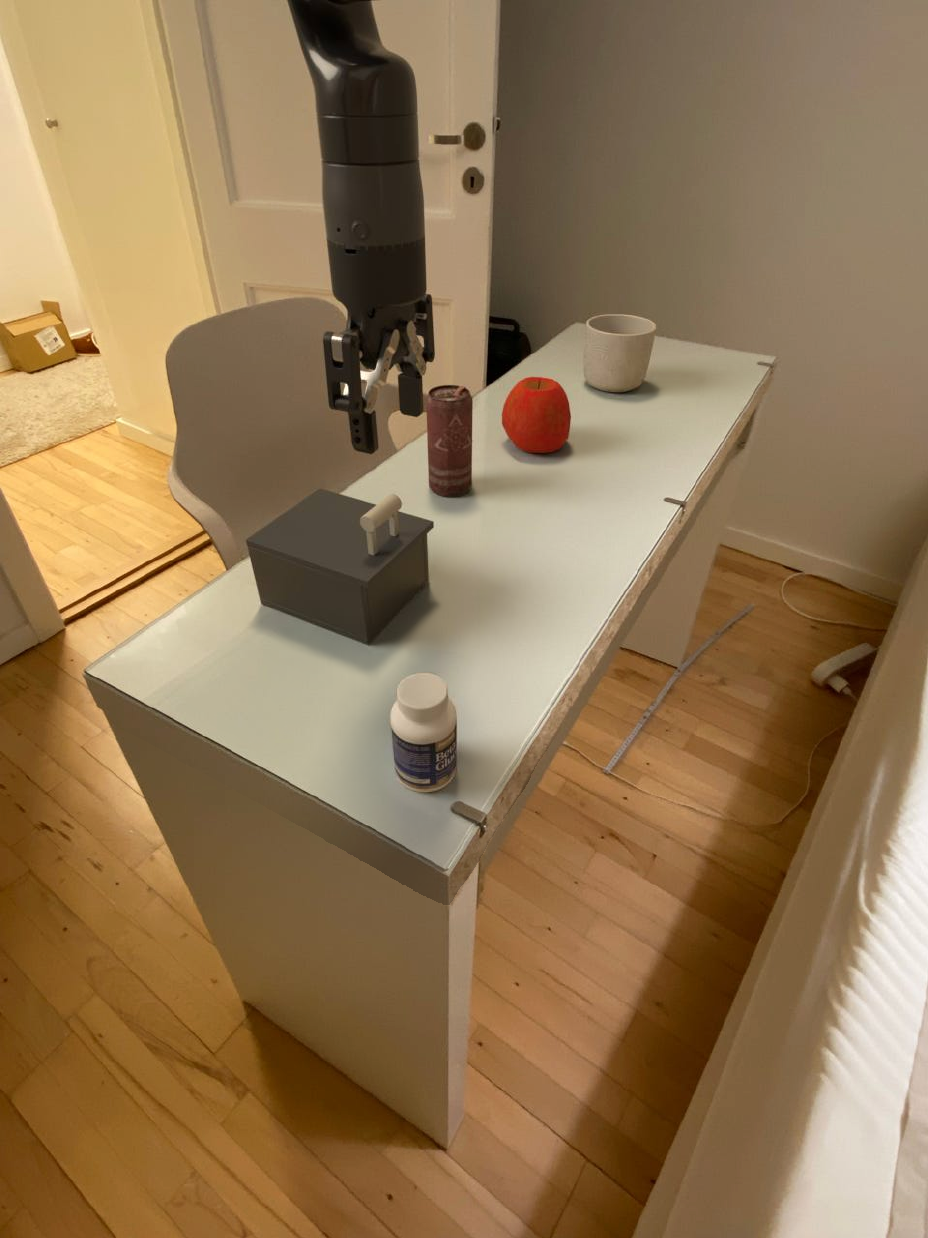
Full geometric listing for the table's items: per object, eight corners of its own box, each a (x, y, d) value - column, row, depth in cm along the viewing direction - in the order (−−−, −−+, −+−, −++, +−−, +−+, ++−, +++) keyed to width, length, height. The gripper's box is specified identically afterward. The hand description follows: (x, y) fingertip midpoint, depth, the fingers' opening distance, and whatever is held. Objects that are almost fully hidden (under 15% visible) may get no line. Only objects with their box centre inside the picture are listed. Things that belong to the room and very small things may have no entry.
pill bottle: (445, 801, 57) (443, 722, 50) (385, 786, 58) (376, 707, 52) (464, 752, 61) (465, 673, 54) (408, 738, 62) (402, 660, 55)
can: (480, 483, 98) (482, 388, 90) (456, 502, 94) (456, 404, 85) (445, 472, 101) (443, 379, 92) (420, 490, 97) (416, 394, 88)
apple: (487, 442, 109) (488, 376, 102) (536, 424, 114) (540, 360, 108) (533, 466, 103) (538, 397, 96) (583, 446, 108) (591, 379, 101)
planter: (657, 394, 125) (669, 332, 118) (593, 399, 122) (601, 337, 115) (629, 370, 134) (638, 311, 127) (570, 375, 132) (576, 316, 125)
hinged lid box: (429, 582, 80) (426, 525, 75) (367, 645, 71) (361, 586, 66) (328, 549, 85) (320, 494, 80) (260, 604, 77) (246, 546, 72)
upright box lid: (434, 527, 75) (432, 483, 71) (368, 588, 66) (363, 541, 63) (320, 493, 80) (314, 451, 77) (246, 546, 72) (236, 501, 68)
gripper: (379, 212, 58) (391, 398, 68) (278, 244, 48) (310, 456, 58) (459, 218, 56) (459, 410, 66) (370, 254, 46) (387, 473, 56)
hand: (389, 431), depth 62 cm, fingers open, 8 cm apart
